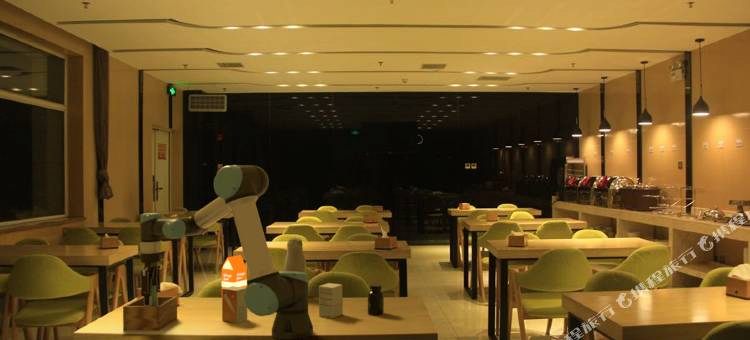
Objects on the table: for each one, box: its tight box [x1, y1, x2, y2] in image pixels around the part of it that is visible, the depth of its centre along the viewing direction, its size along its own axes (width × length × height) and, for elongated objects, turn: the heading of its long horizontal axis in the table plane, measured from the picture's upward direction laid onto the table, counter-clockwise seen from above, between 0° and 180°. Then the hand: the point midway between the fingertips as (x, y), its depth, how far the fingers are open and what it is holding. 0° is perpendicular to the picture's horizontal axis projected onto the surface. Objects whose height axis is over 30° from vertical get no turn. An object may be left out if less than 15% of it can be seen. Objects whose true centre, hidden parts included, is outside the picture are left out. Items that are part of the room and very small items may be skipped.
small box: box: [221, 286, 248, 324], centre depth 235 cm, size 8×6×13 cm
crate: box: [122, 295, 178, 331], centre depth 229 cm, size 14×18×9 cm
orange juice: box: [221, 254, 248, 290], centre depth 275 cm, size 8×9×20 cm
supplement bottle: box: [367, 283, 385, 316], centre depth 244 cm, size 7×7×12 cm
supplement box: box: [318, 282, 344, 319], centre depth 241 cm, size 7×7×13 cm
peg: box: [150, 285, 156, 306], centre depth 229 cm, size 4×4×14 cm
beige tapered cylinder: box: [283, 237, 307, 274], centre depth 278 cm, size 10×10×28 cm
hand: (151, 310), depth 229 cm, fingers open, 5 cm apart
